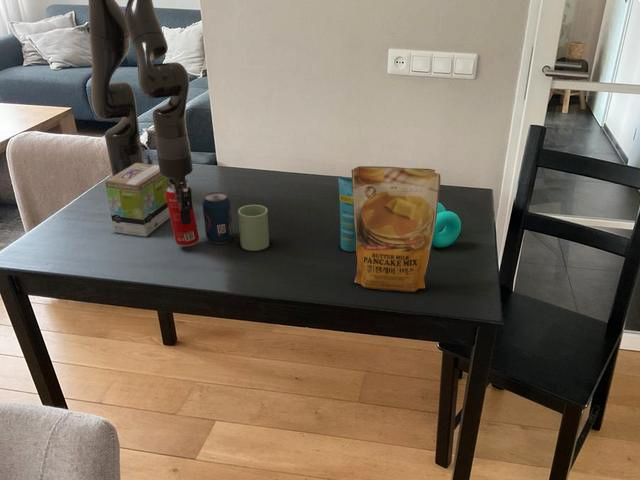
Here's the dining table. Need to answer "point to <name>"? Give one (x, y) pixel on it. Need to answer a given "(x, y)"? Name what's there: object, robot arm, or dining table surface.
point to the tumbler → (253, 227)
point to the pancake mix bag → (394, 225)
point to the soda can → (217, 217)
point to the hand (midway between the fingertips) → (182, 218)
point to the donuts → (450, 228)
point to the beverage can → (182, 233)
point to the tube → (347, 214)
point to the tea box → (137, 199)
